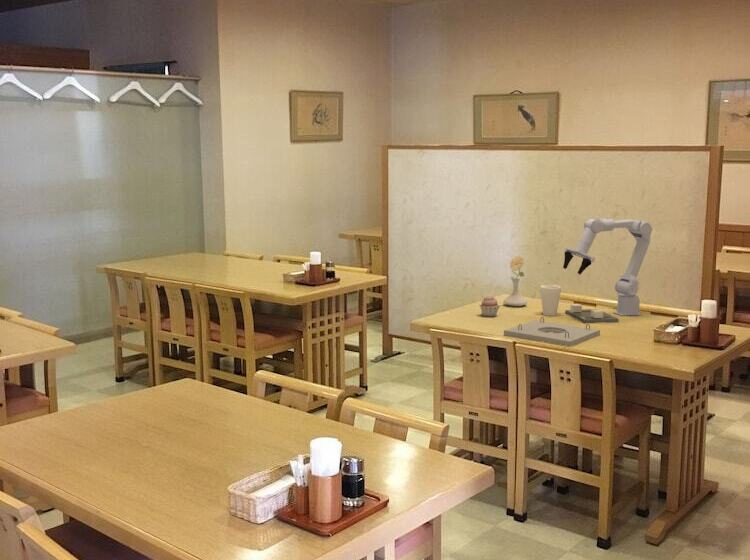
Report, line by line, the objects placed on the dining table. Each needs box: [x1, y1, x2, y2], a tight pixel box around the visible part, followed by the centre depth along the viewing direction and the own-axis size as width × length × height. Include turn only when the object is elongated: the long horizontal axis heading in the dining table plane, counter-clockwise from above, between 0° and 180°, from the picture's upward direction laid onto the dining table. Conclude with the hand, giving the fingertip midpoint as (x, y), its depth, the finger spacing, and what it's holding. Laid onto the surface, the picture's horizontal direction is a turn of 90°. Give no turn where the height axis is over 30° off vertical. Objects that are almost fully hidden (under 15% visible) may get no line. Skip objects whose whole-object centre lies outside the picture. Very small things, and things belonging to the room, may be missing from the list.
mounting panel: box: [503, 316, 601, 347], centre depth 341 cm, size 27×5×30 cm
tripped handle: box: [591, 309, 604, 318], centre depth 370 cm, size 4×4×3 cm
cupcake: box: [479, 294, 501, 318], centre depth 380 cm, size 9×9×10 cm
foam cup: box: [540, 284, 562, 316], centre depth 383 cm, size 10×9×13 cm
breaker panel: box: [564, 308, 619, 324], centre depth 377 cm, size 16×22×2 cm
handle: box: [569, 303, 583, 312], centre depth 383 cm, size 4×4×3 cm
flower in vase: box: [503, 255, 528, 307], centre depth 402 cm, size 13×11×25 cm
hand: (571, 271), depth 371 cm, fingers open, 7 cm apart
